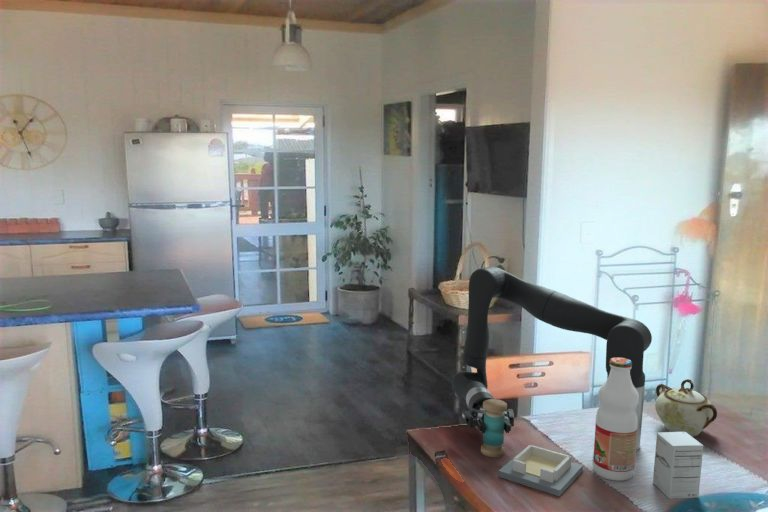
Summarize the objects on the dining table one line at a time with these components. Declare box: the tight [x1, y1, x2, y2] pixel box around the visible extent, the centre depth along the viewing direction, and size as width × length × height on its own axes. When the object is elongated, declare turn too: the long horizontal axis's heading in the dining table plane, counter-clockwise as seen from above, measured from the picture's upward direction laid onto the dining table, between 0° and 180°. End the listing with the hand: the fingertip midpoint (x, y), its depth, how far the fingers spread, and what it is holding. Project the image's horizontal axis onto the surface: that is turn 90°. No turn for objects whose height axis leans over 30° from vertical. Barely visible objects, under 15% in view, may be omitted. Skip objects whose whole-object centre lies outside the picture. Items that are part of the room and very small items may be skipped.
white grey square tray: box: [497, 444, 584, 497], centre depth 154 cm, size 15×15×4 cm
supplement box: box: [652, 431, 704, 499], centre depth 147 cm, size 7×7×13 cm
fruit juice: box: [592, 357, 639, 482], centre depth 154 cm, size 9×9×28 cm
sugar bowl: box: [654, 379, 718, 437], centre depth 180 cm, size 20×15×15 cm
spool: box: [480, 398, 508, 458], centre depth 165 cm, size 6×6×13 cm
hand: (496, 429), depth 162 cm, fingers open, 5 cm apart
